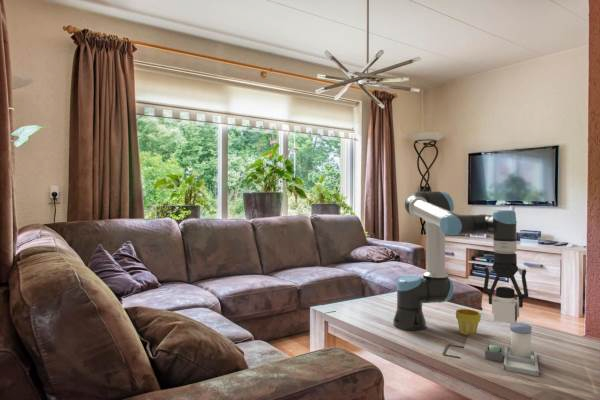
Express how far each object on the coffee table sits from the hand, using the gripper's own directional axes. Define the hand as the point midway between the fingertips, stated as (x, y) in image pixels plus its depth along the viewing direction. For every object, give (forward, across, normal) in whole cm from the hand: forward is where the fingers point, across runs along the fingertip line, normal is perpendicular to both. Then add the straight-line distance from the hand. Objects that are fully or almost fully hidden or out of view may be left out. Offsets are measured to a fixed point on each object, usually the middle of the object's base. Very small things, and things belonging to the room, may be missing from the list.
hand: (505, 314), depth 144 cm
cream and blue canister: (+18, +4, +9) cm, 20 cm away
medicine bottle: (+2, 0, 0) cm, 2 cm away
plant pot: (+19, -17, +31) cm, 40 cm away
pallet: (+19, +2, +4) cm, 20 cm away
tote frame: (+19, -16, +6) cm, 25 cm away
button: (+17, -4, +4) cm, 18 cm away
